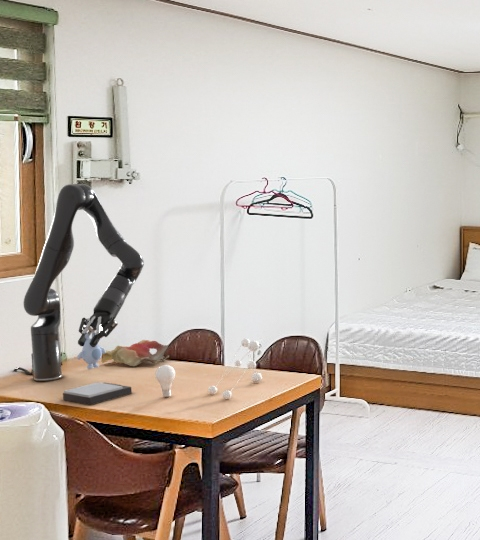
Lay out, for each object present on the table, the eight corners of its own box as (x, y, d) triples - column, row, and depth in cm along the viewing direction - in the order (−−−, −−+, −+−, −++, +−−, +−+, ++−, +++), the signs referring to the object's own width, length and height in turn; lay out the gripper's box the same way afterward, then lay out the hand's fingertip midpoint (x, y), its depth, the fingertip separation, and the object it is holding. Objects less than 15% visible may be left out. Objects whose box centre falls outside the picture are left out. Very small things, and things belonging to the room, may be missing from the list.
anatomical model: (141, 370, 332) (135, 345, 331) (97, 376, 343) (91, 351, 342) (185, 355, 352) (179, 331, 352) (141, 361, 363) (136, 337, 362)
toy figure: (84, 372, 286) (82, 336, 285) (72, 370, 289) (70, 334, 288) (112, 365, 295) (110, 330, 294) (100, 363, 298) (98, 328, 297)
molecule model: (275, 387, 310) (282, 341, 305) (225, 408, 288) (232, 358, 283) (244, 374, 315) (251, 328, 310) (193, 393, 293) (199, 344, 288)
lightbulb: (170, 394, 297) (168, 362, 295) (180, 396, 293) (178, 364, 291) (153, 397, 292) (151, 365, 291) (163, 400, 288) (161, 368, 287)
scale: (63, 400, 291) (62, 390, 291) (104, 389, 305) (104, 380, 304) (90, 405, 284) (89, 395, 284) (131, 393, 298) (131, 384, 298)
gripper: (87, 296, 299) (62, 338, 289) (120, 297, 294) (96, 340, 284) (100, 309, 304) (75, 350, 295) (133, 310, 300) (109, 352, 290)
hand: (86, 345), depth 289 cm, fingers closed on toy figure, 4 cm apart
